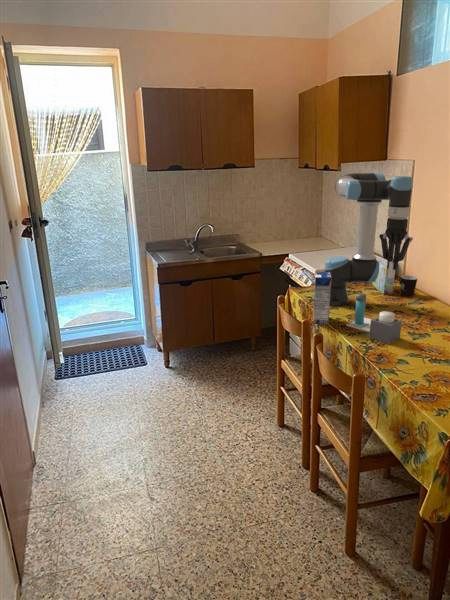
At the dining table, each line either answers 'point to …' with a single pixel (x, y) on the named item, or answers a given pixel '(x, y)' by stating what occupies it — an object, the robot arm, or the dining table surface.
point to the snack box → (384, 279)
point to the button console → (385, 330)
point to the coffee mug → (408, 285)
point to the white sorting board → (361, 327)
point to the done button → (386, 317)
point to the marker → (360, 308)
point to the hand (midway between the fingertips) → (391, 277)
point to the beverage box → (322, 298)
